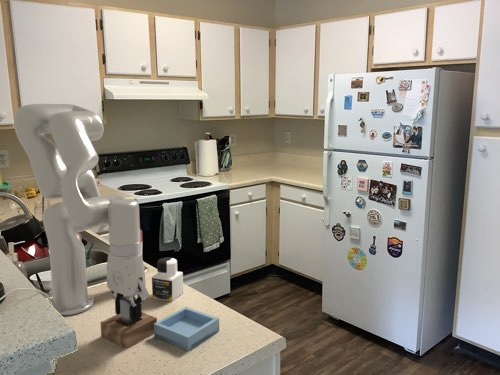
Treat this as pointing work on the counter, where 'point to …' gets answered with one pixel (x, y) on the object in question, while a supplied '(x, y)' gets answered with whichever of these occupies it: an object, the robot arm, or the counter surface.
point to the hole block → (127, 330)
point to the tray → (186, 328)
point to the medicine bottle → (167, 280)
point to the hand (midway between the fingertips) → (128, 314)
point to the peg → (126, 311)
